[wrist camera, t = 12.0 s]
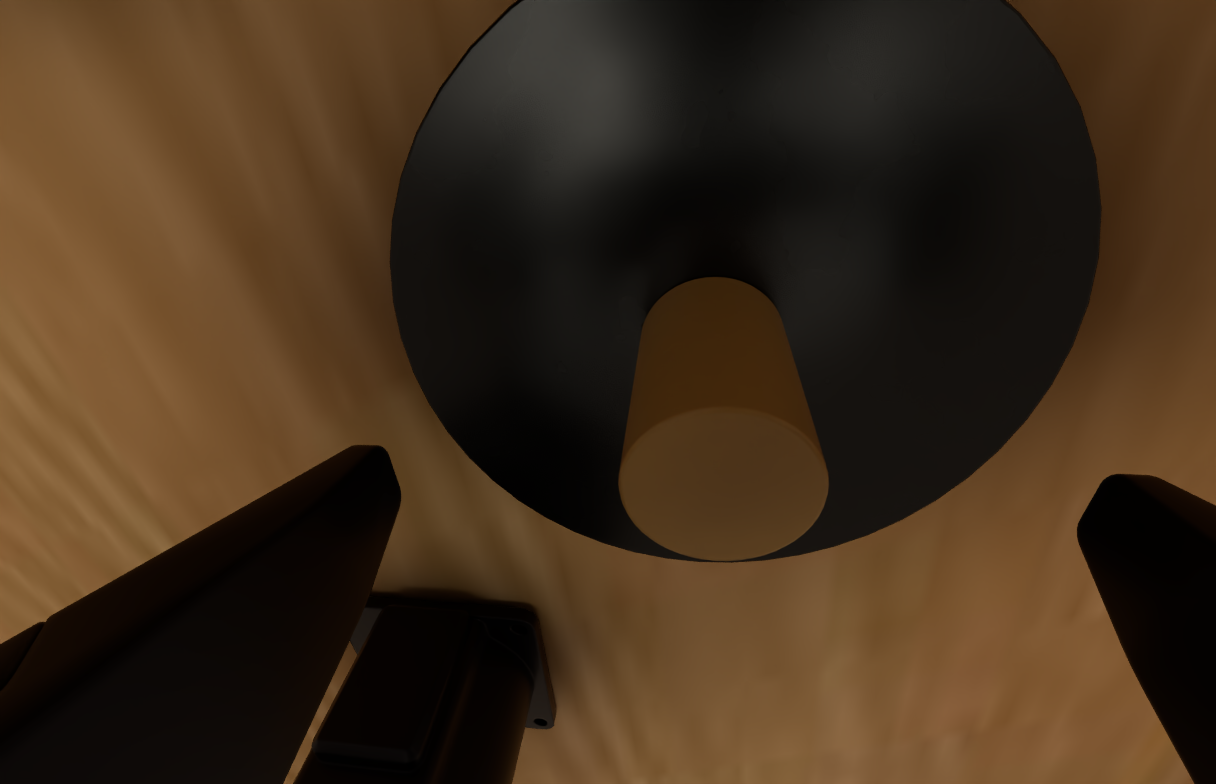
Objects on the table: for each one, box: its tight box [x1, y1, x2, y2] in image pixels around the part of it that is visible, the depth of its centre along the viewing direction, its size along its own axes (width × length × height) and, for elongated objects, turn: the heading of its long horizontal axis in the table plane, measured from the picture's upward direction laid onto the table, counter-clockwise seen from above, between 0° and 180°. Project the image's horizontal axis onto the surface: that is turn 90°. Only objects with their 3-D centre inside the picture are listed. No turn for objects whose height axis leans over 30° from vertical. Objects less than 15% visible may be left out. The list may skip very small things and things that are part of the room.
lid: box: [390, 0, 1102, 563], centre depth 9 cm, size 12×12×5 cm
